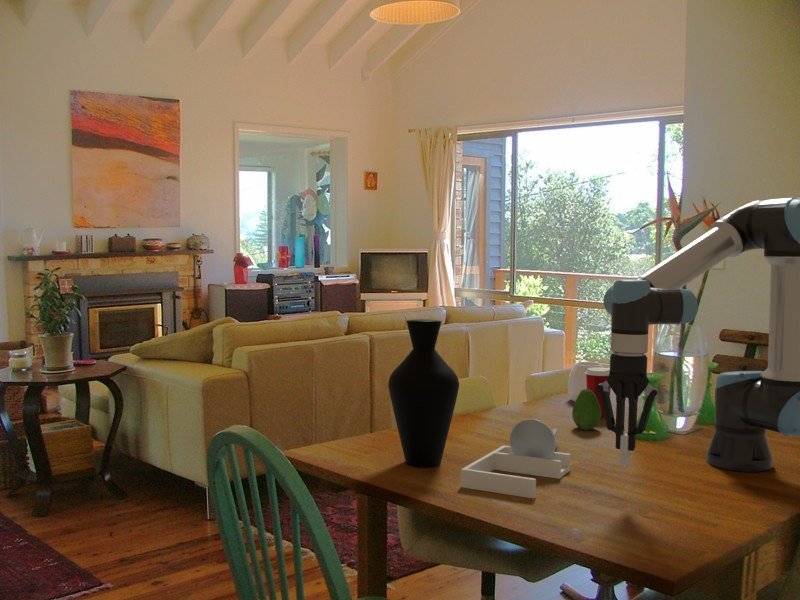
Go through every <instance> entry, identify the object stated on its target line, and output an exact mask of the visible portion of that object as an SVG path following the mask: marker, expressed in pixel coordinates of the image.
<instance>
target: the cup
mask: <svg viewBox="0 0 800 600" xmlns="http://www.w3.org/2000/svg"><path fill="white" fill-rule="evenodd" d="M588 368H604V366H603V364H602V363H600V362H593V361H578V362H575V363H574V364H573V366H572V368H571V370H570V372H569V375H568V380H567V381H568V382H567V393H568V395H569V399H570V400H571V401H572V402H573V401H574V402H573V403H575V401H576V399H577V397H578V395H579V393H580V392H581V391H582V390H584V389H587V379H586V374H585V372H586V370H587V369H588Z"/></svg>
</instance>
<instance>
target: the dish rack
mask: <svg viewBox="0 0 800 600" xmlns="http://www.w3.org/2000/svg"><path fill="white" fill-rule="evenodd" d="M495 470H497V471H501V472H502V471H503V472H509V473H515V474H516V473H517V474H522V475H529V474H530V475H532V476H535V477H536V476H537V477H545V478H552V479H558V480H560V479H562V477H564V476H565V475H567V474H568V473H569V472H570V471H571V453H566V452H559V451H555V452H554V454H553V456H552V457H551V458H550V459H545V458H537V457H530V456H522V455H515V454H514V453H513V451H512V449H511V445H502V446H500V447H498V448H496V449H494V450H493V451H491V452H489V453H487V454H486V455H484V456H482V457H480V458H478V459H477V460H475V461H473V462H471V463H470V464H468V465H466V466H465V467H462V468H461V469H460V488H463V489H469V490H477V491H483V492H490V493H497V494H503V495H508V496H515V497H521V498H522V497H523V498H528V499H536V498H537V479H536V478H533V477H525V476H520V475H511V474H507V473H506V474H504V473H499V472H498V473H497V472H493V471H495Z"/></svg>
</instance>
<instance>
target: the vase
mask: <svg viewBox="0 0 800 600" xmlns="http://www.w3.org/2000/svg"><path fill="white" fill-rule="evenodd" d="M406 325H407V329H408V333H409V338H410V342H411V346H412V349H411V350H410V352H409V353H408V354H407V356H406V357H405V358H404V359H403V360H402V361H401V363H399V365H398V366H396V368H394V370H393V371H392V373H391V374H390V376H389V378H388V384H387V385H388V392H389V396H390V401H391V406H392V410H393V414H394V415H393V416H394V419H395V422H396V427H397V432H398V434H399V439H400V444H401V448H402V451H403V452H402V453H403V457H404V460H405V463H406V465H408V466H409V467H412V468H419V469H431V468H435V467H437V468H438V467H439V466H441V464H442V460H443V456H444V451H445V448H446V444H447V439H448V436H449V433H450V432H449V431H450V428H451V424H452V420H453V419H452V418H453V416H454V410H455V407H456V403H457V399H458V395H459V389H460V382H459V378H458V375H457V374H456V372H455V371H454V369H452V367H451V366H449V364H448V363H447V362H446V361H445V360H444V359H443V357H442V356H441V355H440V354H439V353H438V351H437V350H436V345H437V341H438V338H439V333H440V331H441V330H440V329H441V326H442V320H439V319H425V318H424V319H423V318H422V319H420V318H419V319H408V320H406Z"/></svg>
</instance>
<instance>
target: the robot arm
mask: <svg viewBox="0 0 800 600" xmlns="http://www.w3.org/2000/svg"><path fill="white" fill-rule="evenodd" d="M757 249H758V250H759V249H763V250H764V251H763V258H764V259H765V260H766V262H768V263H769V264H770V282H769V283H770V284H769V285H770V287H769V289H770V290H769V292H770V293H769V317H768V318H769V322H768V324H769V325H768V348H767V349H768V353H767V354H768V356H767V368H766V369H765V370H764V371H763V370H746V371H745V370H740V371H739V370H738V371H737V370H736V371H725V372H721V373H719V374H718V375H717V376H716V385H715V388H714V389H715V390H714V391H715V392H714V393H715V395H714V432H713V434H712V438H711V440H710V443H709V444H708V448H707V449H706V457H705V459H706V463H707V464H708V465H711V466H713V467H716V468H718V469H723V470H728V471H733V472H734V471H736V472H744V473H745V472H746V473H748V472H749V473H751V472H753V473H754V472H755V473H756V472H757V473H758V472H765V471H770V470H772V468H773V456H772V451H771V449H770V446H769V443H768V440H767V435H766V431H767V430H768V431H770V432H771V431H772V432H775V433H779V434H781V435H784V436H791V437H797V438H800V196H797V197H785V198H770V199H768V198H767V199H766V198H764V199H756V200H753V201H750V202H747V203H745V204H743V205H741V206H740V207H737V208H735V209H734V210H732V211H730V212H728V213H727V214H725V215H724V216H721V217H720V218H719V219H717V220H715V221H714V222H712V223H711V225H710V226H709V229H708V231H706V232H704V233H703V234H702V235H700V236H699V237H697V238H696V239H694V240H693V241H691V242H690V243H688V244H686V245H685V246H684V247H682V248H681V249H679V250H677V251H676V252H674V253H672V255H671V254H670V256H668V257H667V258H665V259H664V260H661V262H659V263H658V264H656V265H654V266H653V267H651V268H650V269H648V270H647V271H646V272H644V273H642V274H641V275H639V276H638V277H636V278H635V279H626V278H625V279H621V278H620V279H617V280H615V281H614V282H613V285H612V286H610V287H609V288H608V289H607V290H606V292H605V294H604V296H603V306H604V310H606V312H607V313H608V315H610V316H611V317H610V318H611V323H610V324H611V325H610V326H611V327H610V346H609V347H610V351H611V352H612V353H611V354H610V355H609V356H610V357H609V369H610V373H609V376H608V377H607V381H605V382H603V383H600V384H598V385H597V386H596V389H597V391H598V392H599V394H600V396H601V400H602V405H603V410H604V415H605V418H604V420H605V423H606V429H607V430H608V431H610V432H611V431H612V432H613V433H614V434H615V448H616V450H619V467H625V468H627V467H628V466H630V465H631V452H632V451H634V450H635V449H636V442H637V441H636V440H637V435H641V434H642V433H644V432H645V431H646V427H647V424H648V422H649V418H650V414H651V411H652V409H653V405H654V402H655V399H656V398H657V396H658V395H659V394H660V392H661V391H660V388H655V387H654V386H652V385H651V384H650V380H649V379H648V356H647V355H646V353H648V348H649V347H648V346H649V329H650V328H649V327H650V326H651V325H676V326H678V325H682V324H689V323H691V322H692V321H693V320H694V319H695V318H696V316H697V314H698V309H699V307H698V300H697V297H696V295H695V293H694V292H693V291H691V290H689V289H686V288H683V287H684V286H686V285H688V284H689V283H690V282H692V281H694V280H695V279H696V278H698V277H700V276H701V275H703V274H704V273H706V272H707V271H709V270H710V269H711V268H713V267H715V266H716V265H717V264H719V263H721V262H722V261H724V260H725V259H727V258H735V257H738V256H740V255H741V254H742V253H744V252H746V251H747V252H748V251H751V250H753V251H754V250H757ZM609 386H610V387H611V389H610V390H612V391H613V393H614V394H615V402H616V408H615V409H616V410H615V411H616V412H615V416H614V411H613V405H612V400H611V394H610V395H609V392H608V391H609ZM645 390H646V391H645ZM644 391H645V396H646V398H645V401H644V405H643V409H642V412H641V414H640V419H639V421H638V402H639V397H640V396H641V395H642V394H643V392H644ZM627 399H628V401H627V402H628V418H627V421H628V422H627V433H626V432H625V418H626V417H625V416H626V415H625V414H626V411H625V410H626V400H627Z"/></svg>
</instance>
